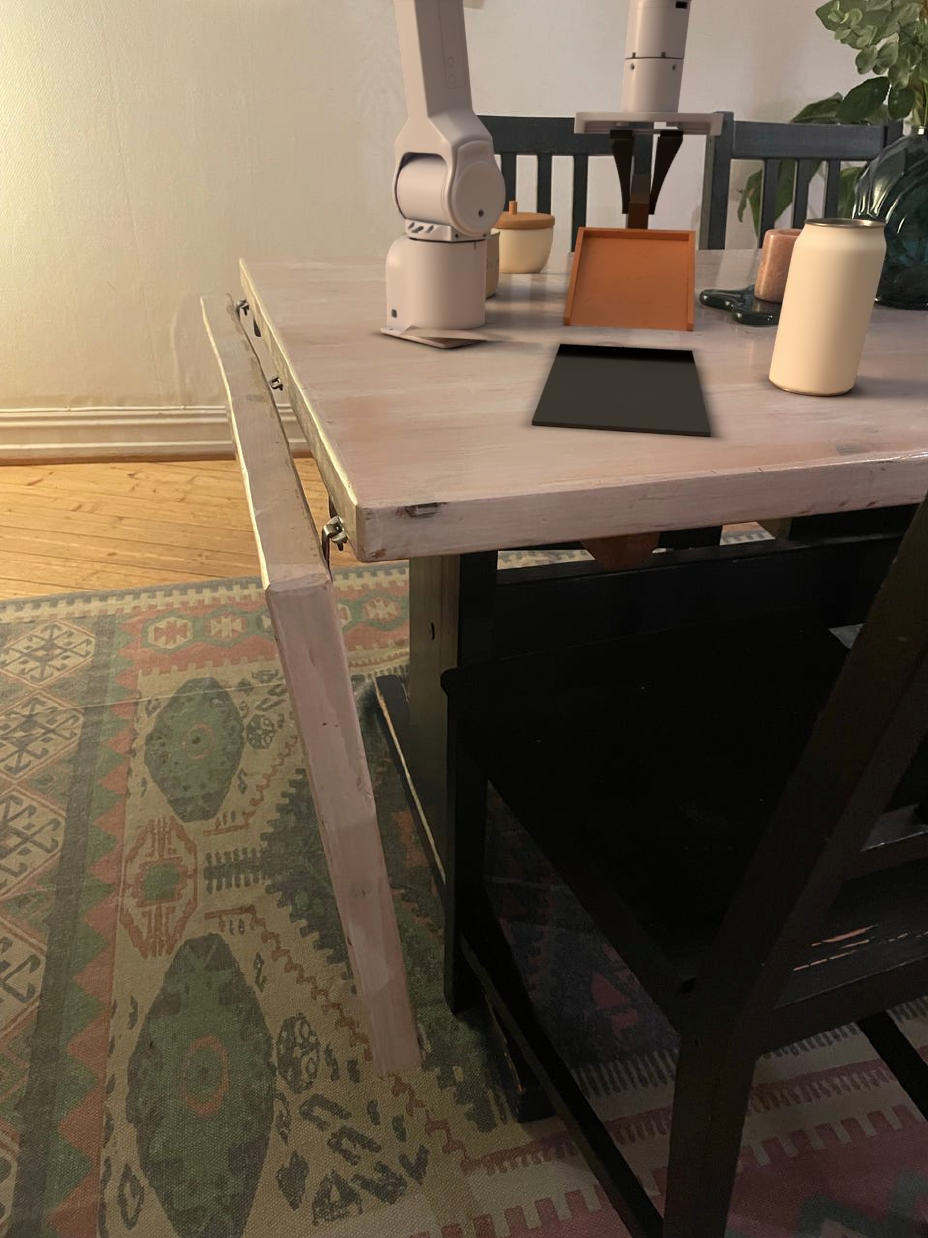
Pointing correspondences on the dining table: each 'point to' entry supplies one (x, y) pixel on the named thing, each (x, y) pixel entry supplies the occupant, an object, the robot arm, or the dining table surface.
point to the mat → (623, 391)
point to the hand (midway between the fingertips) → (638, 213)
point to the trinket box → (524, 240)
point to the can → (827, 305)
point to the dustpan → (633, 273)
